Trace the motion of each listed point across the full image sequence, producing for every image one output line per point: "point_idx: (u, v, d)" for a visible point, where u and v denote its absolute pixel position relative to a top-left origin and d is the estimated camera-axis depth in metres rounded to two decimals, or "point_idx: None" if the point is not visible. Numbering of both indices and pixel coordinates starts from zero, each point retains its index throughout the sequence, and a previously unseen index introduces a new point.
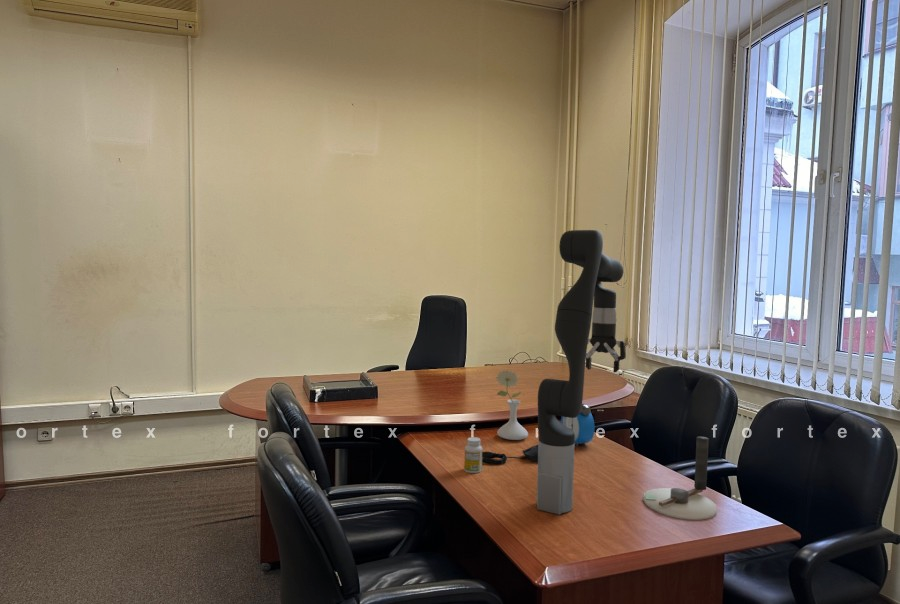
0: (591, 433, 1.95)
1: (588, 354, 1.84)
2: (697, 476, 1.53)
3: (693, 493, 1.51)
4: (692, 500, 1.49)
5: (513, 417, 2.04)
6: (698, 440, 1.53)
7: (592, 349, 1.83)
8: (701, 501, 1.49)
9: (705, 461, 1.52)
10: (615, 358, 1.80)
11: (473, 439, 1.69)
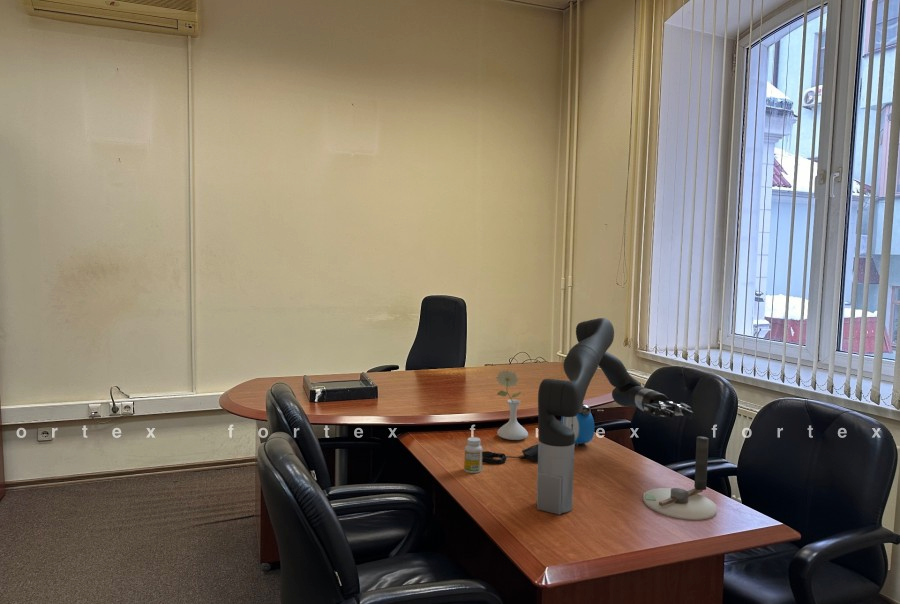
0: (591, 433, 1.95)
1: (663, 407, 1.68)
2: (697, 476, 1.53)
3: (693, 493, 1.51)
4: (692, 500, 1.49)
5: (513, 417, 2.04)
6: (698, 440, 1.53)
7: (661, 404, 1.70)
8: (701, 501, 1.49)
9: (705, 461, 1.52)
10: (683, 407, 1.68)
11: (473, 439, 1.69)
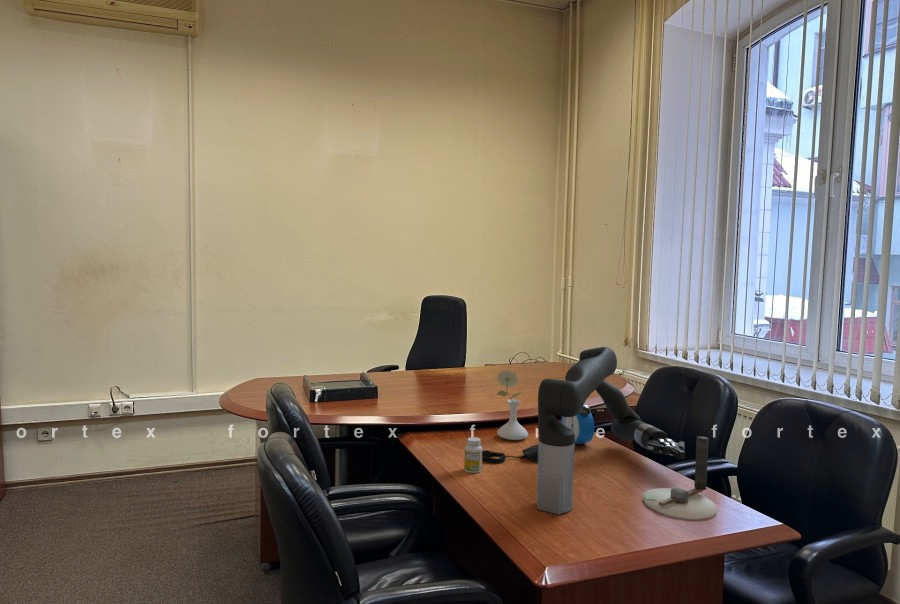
0: (591, 433, 1.95)
1: (671, 446, 1.68)
2: (697, 476, 1.53)
3: (693, 493, 1.51)
4: (692, 500, 1.49)
5: (513, 417, 2.04)
6: (698, 440, 1.53)
7: (665, 442, 1.70)
8: (701, 501, 1.49)
9: (705, 461, 1.52)
10: (675, 446, 1.68)
11: (473, 439, 1.69)
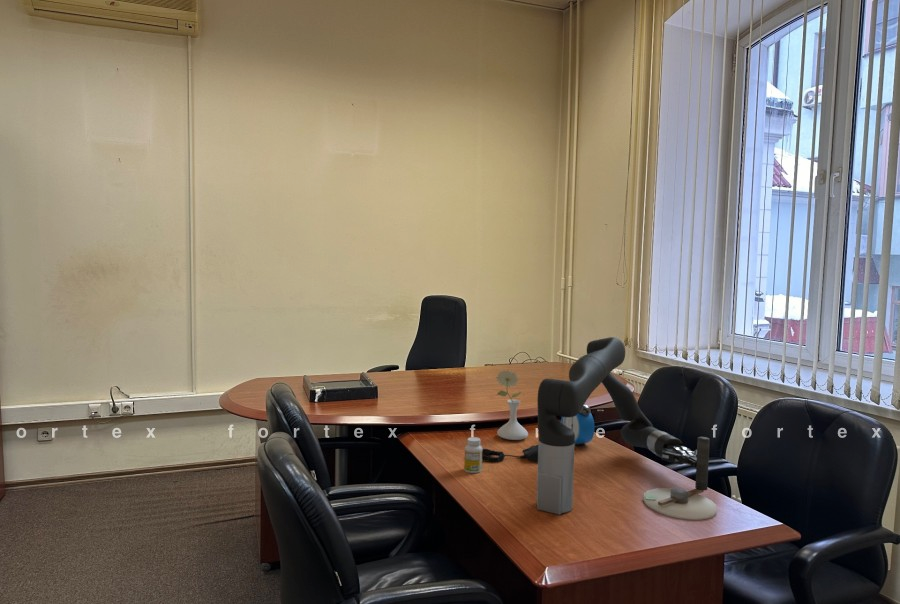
0: (591, 433, 1.95)
1: (687, 455, 1.60)
2: (698, 477, 1.53)
3: (694, 493, 1.51)
4: (692, 500, 1.49)
5: (513, 417, 2.04)
6: (699, 440, 1.53)
7: (680, 450, 1.62)
8: (701, 501, 1.49)
9: (706, 461, 1.52)
10: (691, 455, 1.60)
11: (473, 439, 1.69)
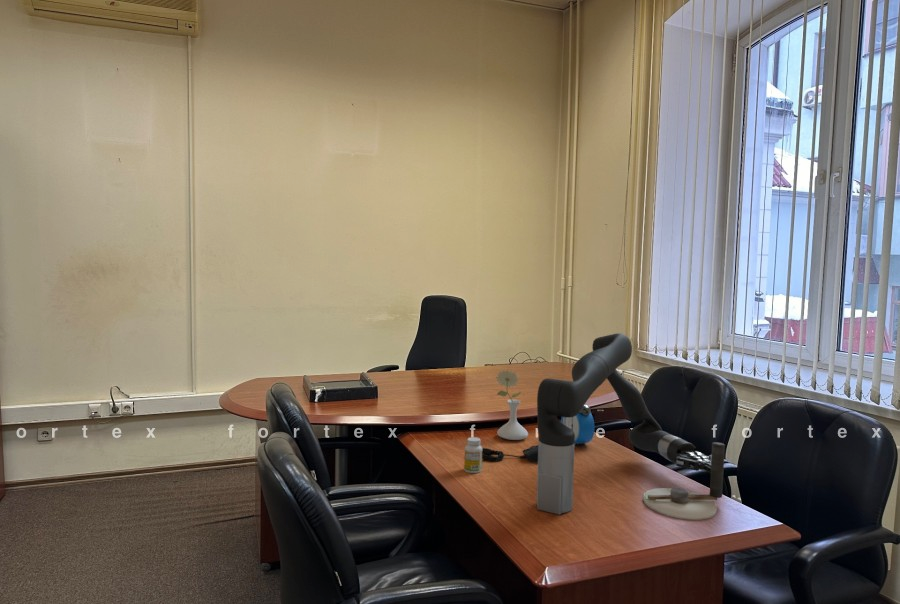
0: (591, 433, 1.95)
1: (703, 460, 1.55)
2: (710, 482, 1.49)
3: (700, 498, 1.48)
4: (692, 500, 1.49)
5: (513, 417, 2.04)
6: (712, 445, 1.48)
7: (695, 456, 1.57)
8: (701, 501, 1.49)
9: (718, 468, 1.47)
10: (707, 461, 1.55)
11: (473, 439, 1.69)
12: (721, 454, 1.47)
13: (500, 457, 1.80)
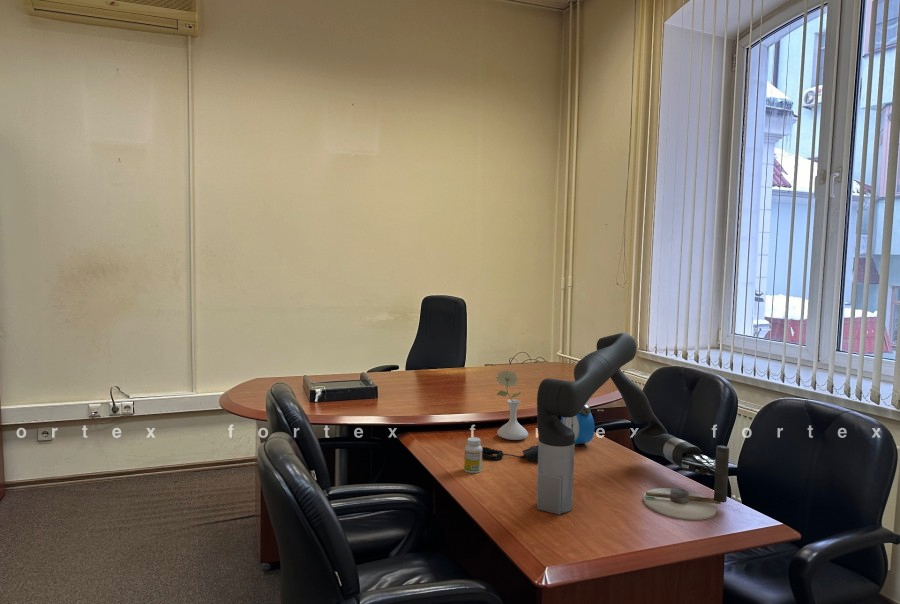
0: (591, 433, 1.95)
1: (709, 464, 1.52)
2: (714, 486, 1.46)
3: (702, 500, 1.46)
4: None
5: (513, 417, 2.04)
6: (716, 448, 1.46)
7: (701, 460, 1.54)
8: None
9: (720, 471, 1.44)
10: (713, 464, 1.52)
11: (473, 439, 1.69)
12: (724, 458, 1.44)
13: (499, 456, 1.81)
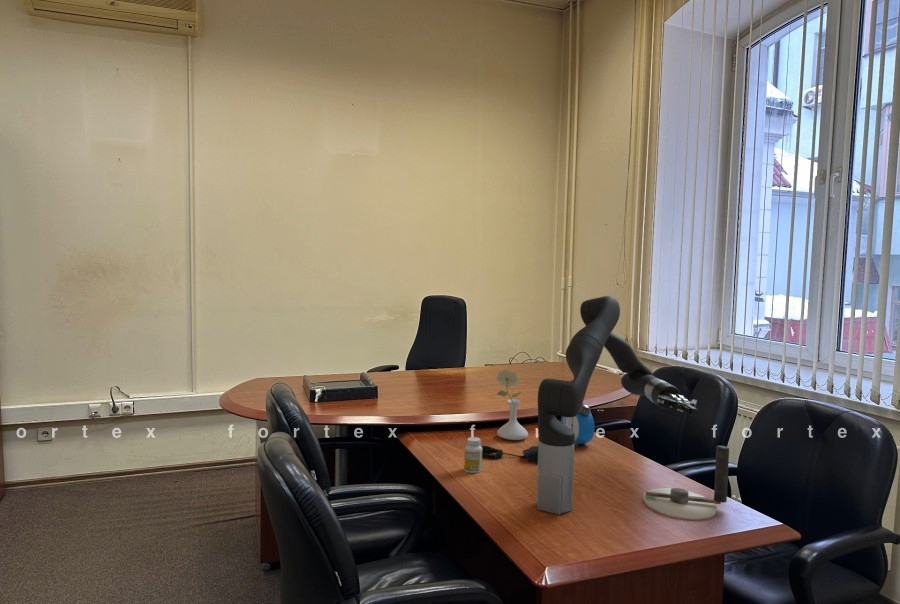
0: (591, 433, 1.95)
1: (683, 402, 1.61)
2: (714, 487, 1.46)
3: (702, 500, 1.46)
4: None
5: (513, 417, 2.04)
6: (716, 448, 1.46)
7: (676, 397, 1.63)
8: None
9: (720, 471, 1.44)
10: (687, 403, 1.60)
11: (473, 439, 1.69)
12: (724, 458, 1.44)
13: (498, 455, 1.81)
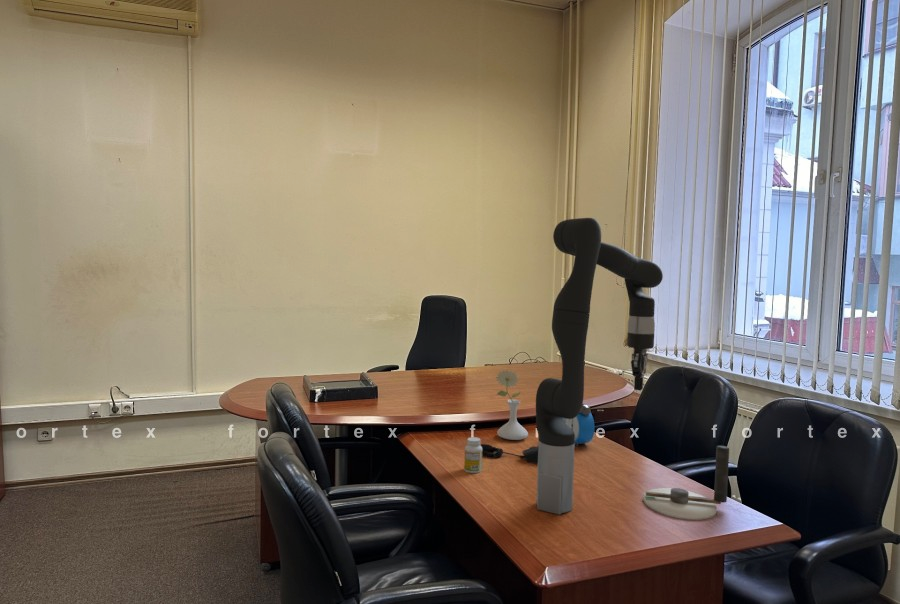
0: (591, 433, 1.95)
1: (643, 373, 1.64)
2: (714, 487, 1.46)
3: (702, 500, 1.46)
4: None
5: (513, 417, 2.04)
6: (716, 448, 1.46)
7: (644, 365, 1.63)
8: None
9: (720, 471, 1.44)
10: (643, 374, 1.65)
11: (473, 439, 1.69)
12: (724, 458, 1.44)
13: (497, 454, 1.83)
